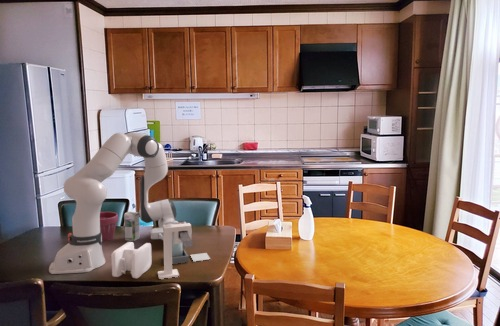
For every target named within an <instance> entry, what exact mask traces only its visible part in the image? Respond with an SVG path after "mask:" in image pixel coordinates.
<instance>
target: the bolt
mask: <svg viewBox="0 0 500 326" xmlns="http://www.w3.org/2000/svg"><path fill="white" fill-rule="evenodd" d="M179 224H184V223H179ZM178 236H179V238H180V240H181V242H182V244H183V248H190V247H193V239H192V240H191V238H190V236H189V235H188V233H187V231H178Z"/></svg>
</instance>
